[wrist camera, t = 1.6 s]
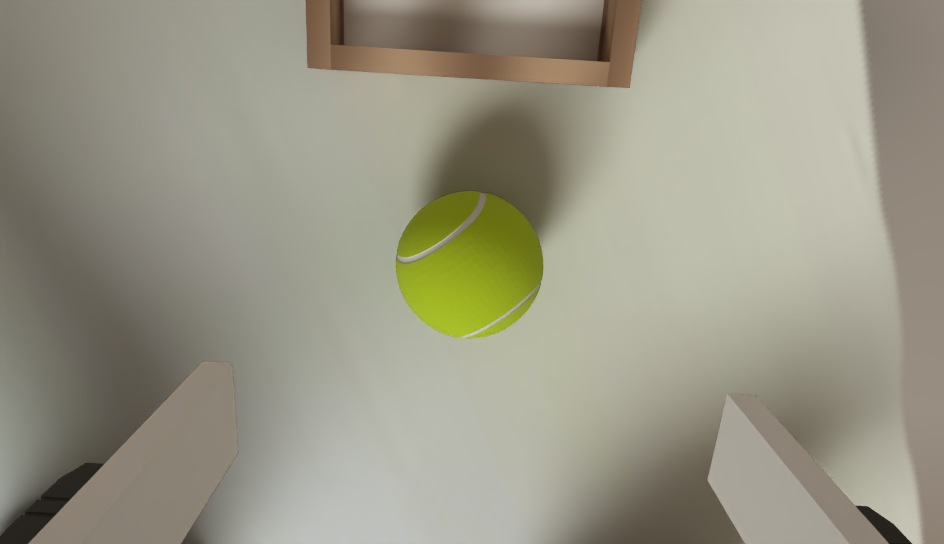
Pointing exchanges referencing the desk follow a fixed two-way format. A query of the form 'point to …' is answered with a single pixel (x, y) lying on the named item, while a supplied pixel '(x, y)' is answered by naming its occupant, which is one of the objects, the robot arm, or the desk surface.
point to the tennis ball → (469, 264)
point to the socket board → (478, 39)
